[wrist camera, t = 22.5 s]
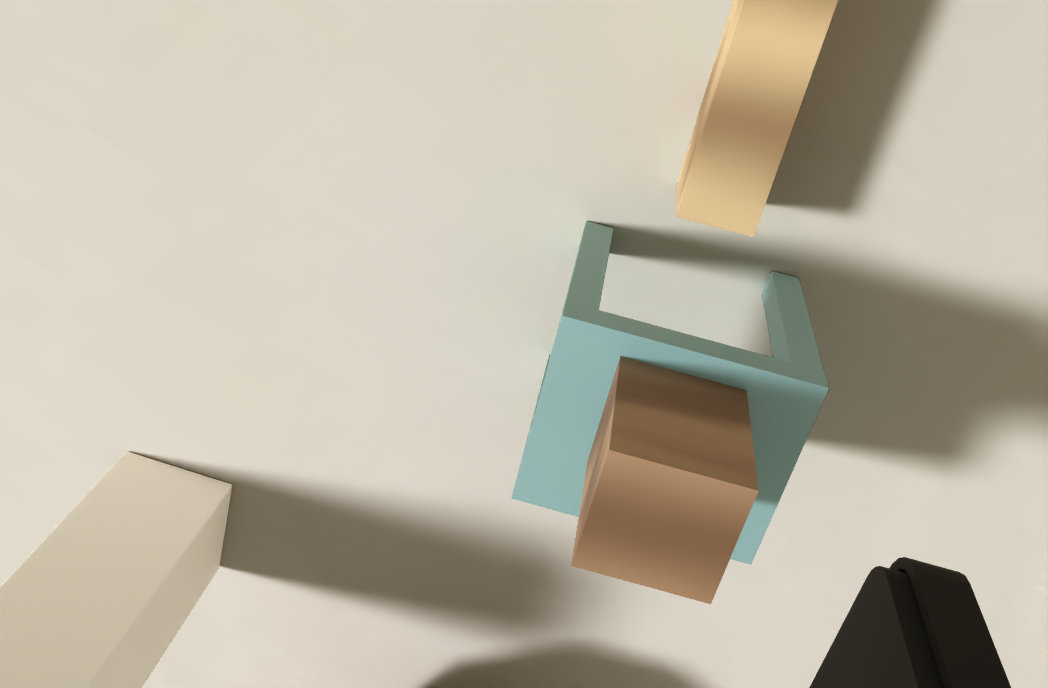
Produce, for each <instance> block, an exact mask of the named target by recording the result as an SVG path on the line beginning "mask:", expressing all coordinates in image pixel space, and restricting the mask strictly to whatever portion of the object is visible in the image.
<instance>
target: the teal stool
mask: <svg viewBox="0 0 1048 688" xmlns="http://www.w3.org/2000/svg"><path fill="white" fill-rule="evenodd" d="M612 234H613V228H611V227H607V226H604V225H600V224H596V223H592V222H589V221H586V225H585V228H584V232H583V236H582V239H581V243H580V246H579V250H578V254H577V258H576V262H575V266H574V270H573V273H572V277H571V281H570V285H569V289H568V293H567V297H566V300H565V304H564V308H563V312H562V316H561V320H560V324H559V328H558V331H557V335H556V339H555V342H554V346H553V349H552V353H551V356H550V355H549V359H548V362H547V366H546V370H545V373H544V377H543V381H542V384H541V388H540V392H539V396H538V400H537V403H536V407H535V411H534V415H533V419H532V422H531V426H530V430H529V434H528V438H527V441H526V445H525V449H524V453H523V457H522V460H521V464H520V468H519V472H518V476H517V479H516V483H515V487H514V491H513V495H512V499H516V500H519V501H523V502H527V503H530V504H534V505H537V506H541V507H545V508H548V509H552V510H556V511H559V512H563V513H566V514H570V515H574V516H577V517H579V513H580V507H581V500H582V494H583V487H584V481H585V474H586V468H587V461H588V457H589V454H590V451H591V448H592V445H593V442H594V438H595V435H596V432H597V429H598V426H599V422H600V419H601V416H602V413H603V410H604V406H605V403H606V400H607V397H608V394H609V391H610V387H611V384H612V381H613V378H614V375H615V371H616V368H617V365H618V362H619V359H620V356H622V357H626V358H630V359H634V360H637V361H641V362H645V363H648V364H652V365H656V366H659V367H663V368H667V369H670V370H674V371H678V372H682V373H685V374H689V375H693V376H696V377H700V378H704V379H707V380H711V381H715V382H718V383H722V384H726V385H729V386H733V387H737V388H741V389H744V390H747V398H748V406H749V414H750V423H751V431H752V439H753V447H754V456H755V464H756V472H757V480H758V489H759V491H758V494H757V496H756V499H755V501H754V503H753V506H752V508H751V510H750V513H749V515H748V517H747V520H746V522H745V524H744V527H743V529H742V532H741V534H740V536H739V539H738V541H737V543H736V546H735V548H734V550H733V553H732V555H731V557H730V559H732V560H736V561H740V562H743V563H747V564H752V561H753V559H754V557H755V555H756V552H757V550H758V548H759V546H760V543H761V541H762V539H763V537H764V534H765V532H766V530H767V527H768V525H769V523H770V521H771V518H772V516H773V514H774V512H775V509H776V507H777V505H778V503H779V500H780V498H781V496H782V494H783V491H784V489H785V487H786V484H787V482H788V480H789V478H790V475H791V473H792V471H793V469H794V466H795V464H796V462H797V460H798V457H799V455H800V453H801V451H802V448H803V446H804V444H805V442H806V439H807V437H808V435H809V432H810V430H811V428H812V426H813V423H814V421H815V419H816V417H817V414H818V412H819V410H820V408H821V405H822V403H823V401H824V399H825V396H826V394H827V392H828V389H829V386H828V383H827V379H826V375H825V372H824V368H823V364H822V361H821V357H820V354H819V350H818V346H817V343H816V339H815V335H814V332H813V328H812V325H811V321H810V317H809V314H808V310H807V306H806V303H805V299H804V295H803V292H802V288H801V285H800V281H799V278H796V277H793V276H789V275H785V274H782V273H778V272H774V271H771V273H770V276H769V279H768V281H767V284H766V286H765V289H764V292H763V294H762V298H763V303H764V309H765V314H766V320H767V325H768V331H769V336H770V342H771V347H772V353H773V357H769V356H765V355H762V354H758V353H754V352H750V351H747V350H743V349H739V348H736V347H732V346H728V345H725V344H721V343H717V342H714V341H710V340H706V339H703V338H699V337H695V336H692V335H688V334H684V333H681V332H677V331H673V330H669V329H666V328H662V327H658V326H655V325H651V324H647V323H644V322H640V321H636V320H633V319H629V318H625V317H622V316H618V315H614V314H611V313H607V312H603V311H600V310H599V306H600V300H601V294H602V289H603V283H604V278H605V272H606V267H607V261H608V256H609V250H610V245H611V239H612Z"/></svg>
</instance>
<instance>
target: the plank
mask: <svg viewBox="0 0 1048 688" xmlns="http://www.w3.org/2000/svg"><path fill="white" fill-rule="evenodd" d="M837 2H838V0H734V1H733V4H732V7H731V10H730V14H729V17H728V20H727V23H726V26H725V30H724V33H723V36H722V39H721V43H720V46H719V49H718V52H717V56H716V59H715V62H714V65H713V69H712V72H711V75H710V78H709V82H708V85H707V88H706V91H705V95H704V98H703V101H702V104H701V108H700V111H699V114H698V117H697V121H696V124H695V127H694V130H693V133H692V137H691V140H690V143H689V146H688V150H687V153H686V156H685V159H684V163H683V166H682V169H681V172H680V176H679V179H678V182H677V217H679V218H682V219H686V220H690V221H694V222H698V223H701V224H705V225H709V226H713V227H717V228H721V229H724V230H728V231H732V232H736V233H740V234H744V235H747V236H751V237H754V234H755V232H756V229H757V226H758V223H759V220H760V218H761V215H762V212H763V209H764V206H765V204H766V201H767V198H768V195H769V192H770V190H771V187H772V184H773V181H774V178H775V176H776V173H777V170H778V167H779V164H780V162H781V159H782V156H783V153H784V150H785V148H786V145H787V142H788V139H789V136H790V134H791V131H792V128H793V125H794V122H795V120H796V117H797V114H798V111H799V108H800V106H801V103H802V100H803V97H804V94H805V92H806V89H807V86H808V83H809V81H810V78H811V75H812V72H813V69H814V67H815V64H816V61H817V58H818V55H819V53H820V50H821V47H822V44H823V41H824V39H825V36H826V33H827V30H828V27H829V25H830V22H831V19H832V16H833V13H834V11H835V8H836V5H837Z"/></svg>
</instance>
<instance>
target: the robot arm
mask: <svg viewBox="0 0 1048 688" xmlns="http://www.w3.org/2000/svg"><path fill="white" fill-rule="evenodd" d="M810 688H1011V686H1010V684H1009V681H1008V679H1007V676H1006V674H1005V671H1004V668H1003V666H1002V663H1001V661H1000V658H999V656H998V653H997V651H996V648H995V646H994V643H993V641H992V638H991V636H990V633H989V630H988V628H987V625H986V623H985V620H984V618H983V615H982V613H981V610H980V608H979V605H978V603H977V600H976V598H975V595H974V592H973V590H972V587H971V585H970V583H969V581H968V579H967V578H966V576H965V575H963V574H961V573H960V572H957V571H953V570H949V569H946V568H942V567H938V566H935V565H931V564H928V563H924V562H920V561H917V560H913V559H909V558H906V557H903V558H898V559H897V560H896V561H895V562H894V563H893V564H892V565H891V567H890V568H885V567H881V566H878V567H875V568H874V569H873V570H871V572H870V573H869V575H868V576H867V578H866V580H865V582H864V584H863V586H862V588H861V590H860V592H859V594H858V595H857V597H856V599H855V601H854V603H853V605H852V607H851V609H850V611H849V613H848V615H847V617H846V619H845V620H844V622H843V624H842V626H841V628H840V630H839V632H838V634H837V636H836V638H835V640H834V642H833V644H832V645H831V647H830V649H829V651H828V653H827V655H826V657H825V659H824V661H823V663H822V665H821V667H820V669H819V670H818V672H817V674H816V676H815V678H814V680H813V682H812V684H811V686H810Z"/></svg>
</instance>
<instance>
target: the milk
mask: <svg viewBox="0 0 1048 688" xmlns="http://www.w3.org/2000/svg"><path fill="white" fill-rule="evenodd" d="M231 491H232V485H231V484H229V483H226V482H223V481H219V480H216V479H213V478H210V477H207V476H203V475H200V474H197V473H194V472H191V471H188V470H184V469H181V468H178V467H175V466H172V465H169V464H165V463H162V462H159V461H156V460H153V459H149V458H146V457H143V456H140V455H137V454H134V453H130V452H125V453H124V454H123V455H122V456H121V457H120V458H119V459H118V460H117V461H116V462H115V463H114V464H113V466H112V467H111V468H110V469H109V470H108V471H107V472H106V473H105V474H104V475H103V476H102V477H101V478H100V480H99V481H98V482H97V483H96V484H95V485H94V486H93V487H92V488H91V489H90V490H89V491H88V492H87V494H86V495H85V496H84V497H83V498H82V499H81V500H80V501H79V502H78V503H77V504H76V505H75V506H74V508H73V509H72V510H71V511H70V512H69V513H68V514H67V515H66V516H65V517H64V518H63V519H62V520H61V522H60V523H59V524H58V525H57V526H56V527H55V528H54V529H53V530H52V531H51V532H50V533H49V534H48V536H47V537H46V538H45V539H44V540H43V541H42V542H41V543H40V544H39V545H38V546H37V547H36V548H35V550H34V551H33V552H32V553H31V554H30V555H29V556H28V557H27V558H26V559H25V560H24V561H23V563H22V564H21V565H20V566H19V567H18V568H17V569H16V570H15V571H14V572H13V573H12V574H11V575H10V577H9V578H8V579H7V580H6V581H5V582H4V583H3V584H2V585H1V586H0V688H142V686H143V685H144V683H145V682H146V680H147V679H148V677H149V675H150V674H151V672H152V671H153V669H154V668H155V666H156V665H157V663H158V662H159V660H160V658H161V657H162V655H163V654H164V652H165V651H166V649H167V648H168V646H169V644H170V643H171V641H172V640H173V638H174V637H175V635H176V634H177V632H178V631H179V629H180V627H181V626H182V624H183V623H184V621H185V620H186V618H187V617H188V615H189V614H190V612H191V610H192V609H193V607H194V606H195V604H196V603H197V601H198V600H199V598H200V597H201V595H202V593H203V592H204V590H205V589H206V587H207V586H208V584H209V583H210V581H211V580H212V578H213V576H214V575H215V573H216V572H217V570H218V569H219V566H220V560H221V554H222V548H223V541H224V535H225V529H226V523H227V516H228V510H229V504H230V497H231Z"/></svg>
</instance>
